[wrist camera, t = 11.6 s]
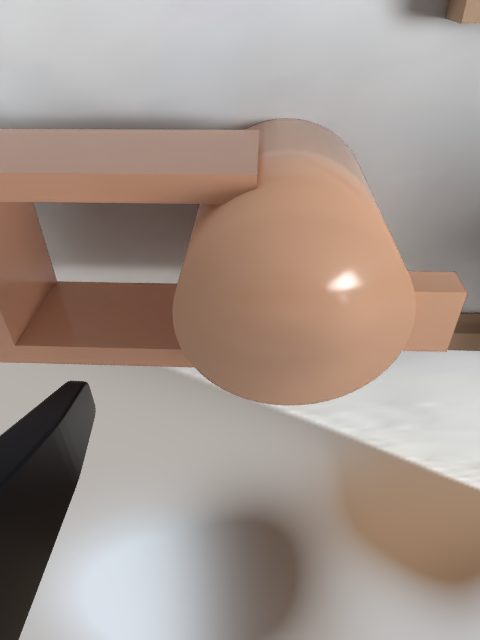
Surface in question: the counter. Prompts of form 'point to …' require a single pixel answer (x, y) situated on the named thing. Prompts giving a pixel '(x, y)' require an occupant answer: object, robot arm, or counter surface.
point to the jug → (221, 261)
